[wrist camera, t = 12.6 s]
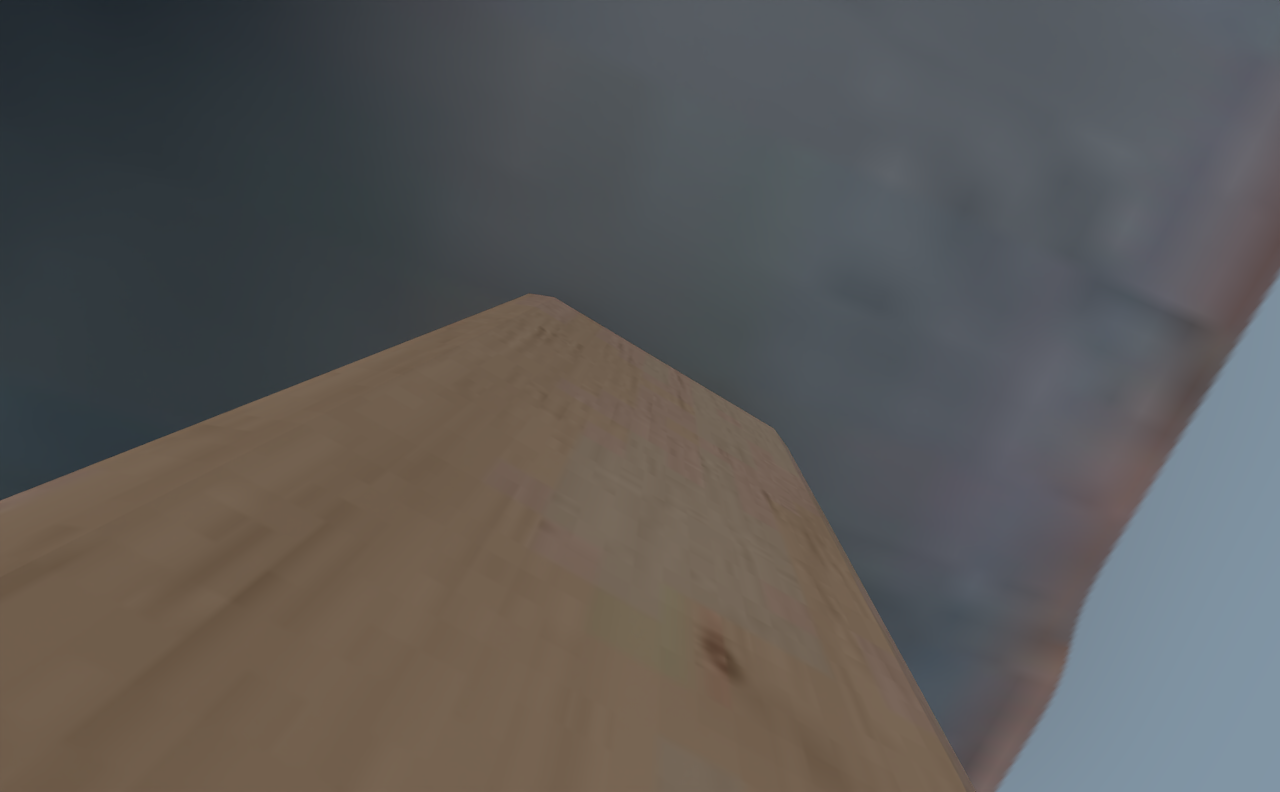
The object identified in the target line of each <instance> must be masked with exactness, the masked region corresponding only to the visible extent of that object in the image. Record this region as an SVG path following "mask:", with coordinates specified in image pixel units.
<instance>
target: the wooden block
mask: <svg viewBox="0 0 1280 792" xmlns="http://www.w3.org/2000/svg"><path fill="white" fill-rule="evenodd" d="M0 792H976V791H975V789H974V787H973V785H972V783H971V782H970V780H969V778H968V776H967V774H966V772H965V771H964V769H963V767H962V765H961V763H960V761H959V760H958V758H957V756H956V754H955V752H954V751H953V749H952V747H951V745H950V743H949V741H948V740H947V738H946V736H945V734H944V732H943V730H942V729H941V727H940V725H939V723H938V721H937V720H936V718H935V716H934V714H933V712H932V710H931V709H930V707H929V705H928V703H927V701H926V699H925V698H924V696H923V694H922V692H921V690H920V688H919V687H918V685H917V683H916V681H915V679H914V678H913V676H912V674H911V672H910V670H909V668H908V667H907V665H906V663H905V661H904V659H903V657H902V656H901V654H900V652H899V650H898V648H897V646H896V645H895V643H894V641H893V639H892V637H891V636H890V634H889V632H888V630H887V628H886V626H885V625H884V623H883V621H882V619H881V617H880V615H879V614H878V612H877V610H876V608H875V606H874V605H873V603H872V601H871V599H870V597H869V595H868V594H867V592H866V590H865V588H864V586H863V584H862V583H861V581H860V579H859V577H858V575H857V573H856V572H855V570H854V568H853V566H852V564H851V563H850V561H849V559H848V557H847V555H846V553H845V552H844V550H843V548H842V546H841V544H840V542H839V541H838V539H837V537H836V535H835V533H834V532H833V530H832V528H831V526H830V524H829V522H828V521H827V519H826V517H825V515H824V513H823V511H822V510H821V508H820V506H819V504H818V502H817V500H816V499H815V497H814V495H813V493H812V491H811V490H810V488H809V486H808V484H807V482H806V480H805V479H804V477H803V475H802V473H801V471H800V469H799V468H798V466H797V464H796V462H795V460H794V458H793V457H792V455H791V453H790V451H789V449H788V448H787V446H786V445H785V443H784V442H783V441H782V439H781V438H780V436H779V435H778V434H777V432H776V431H775V429H774V428H772V427H770V426H768V425H767V424H765V423H763V422H762V421H760V420H758V419H757V418H755V417H753V416H752V415H750V414H748V413H747V412H745V411H743V410H742V409H740V408H738V407H737V406H735V405H733V404H732V403H730V402H728V401H727V400H725V399H723V398H722V397H720V396H718V395H717V394H715V393H713V392H712V391H710V390H708V389H707V388H705V387H703V386H702V385H700V384H698V383H697V382H695V381H693V380H692V379H690V378H688V377H687V376H685V375H683V374H682V373H680V372H678V371H677V370H675V369H673V368H672V367H670V366H668V365H667V364H665V363H663V362H662V361H660V360H658V359H657V358H655V357H653V356H652V355H650V354H648V353H647V352H645V351H643V350H641V349H640V348H638V347H636V346H635V345H633V344H631V343H630V342H628V341H626V340H625V339H623V338H621V337H620V336H618V335H616V334H615V333H613V332H611V331H610V330H608V329H606V328H605V327H603V326H601V325H600V324H598V323H596V322H595V321H593V320H591V319H590V318H588V317H586V316H585V315H583V314H581V313H580V312H578V311H576V310H575V309H573V308H571V307H570V306H568V305H566V304H565V303H563V302H561V301H560V300H558V299H556V298H555V297H549V296H543V295H536V294H530V293H529V294H527V295H524V296H522V297H519V298H516V299H514V300H511V301H509V302H506V303H504V304H501V305H499V306H496V307H494V308H491V309H488V310H486V311H483V312H481V313H478V314H476V315H473V316H471V317H468V318H465V319H463V320H460V321H458V322H455V323H453V324H450V325H448V326H445V327H442V328H440V329H437V330H435V331H432V332H430V333H427V334H425V335H422V336H419V337H417V338H414V339H412V340H409V341H407V342H404V343H402V344H399V345H396V346H394V347H391V348H389V349H386V350H384V351H381V352H379V353H376V354H374V355H371V356H368V357H366V358H363V359H361V360H358V361H356V362H353V363H351V364H348V365H345V366H343V367H340V368H338V369H335V370H333V371H330V372H328V373H325V374H322V375H320V376H317V377H315V378H312V379H310V380H307V381H305V382H302V383H299V384H297V385H294V386H292V387H289V388H287V389H284V390H282V391H279V392H276V393H274V394H271V395H269V396H266V397H264V398H261V399H259V400H256V401H253V402H251V403H248V404H246V405H243V406H241V407H238V408H236V409H233V410H231V411H228V412H225V413H223V414H220V415H218V416H215V417H213V418H210V419H208V420H205V421H202V422H200V423H197V424H195V425H192V426H190V427H187V428H185V429H182V430H179V431H177V432H174V433H172V434H169V435H167V436H164V437H162V438H159V439H156V440H154V441H151V442H149V443H146V444H144V445H141V446H139V447H136V448H133V449H131V450H128V451H126V452H123V453H121V454H118V455H116V456H113V457H111V458H108V459H105V460H103V461H100V462H98V463H95V464H93V465H90V466H88V467H85V468H82V469H80V470H77V471H75V472H72V473H70V474H67V475H65V476H62V477H59V478H57V479H54V480H52V481H49V482H47V483H44V484H42V485H39V486H36V487H34V488H31V489H29V490H26V491H24V492H21V493H19V494H16V495H13V496H11V497H8V498H6V499H3V500H1V501H0Z"/></svg>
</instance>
